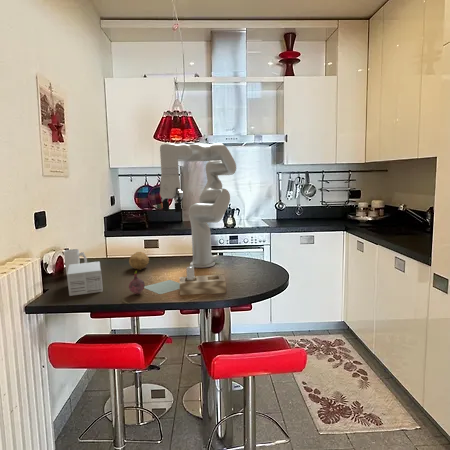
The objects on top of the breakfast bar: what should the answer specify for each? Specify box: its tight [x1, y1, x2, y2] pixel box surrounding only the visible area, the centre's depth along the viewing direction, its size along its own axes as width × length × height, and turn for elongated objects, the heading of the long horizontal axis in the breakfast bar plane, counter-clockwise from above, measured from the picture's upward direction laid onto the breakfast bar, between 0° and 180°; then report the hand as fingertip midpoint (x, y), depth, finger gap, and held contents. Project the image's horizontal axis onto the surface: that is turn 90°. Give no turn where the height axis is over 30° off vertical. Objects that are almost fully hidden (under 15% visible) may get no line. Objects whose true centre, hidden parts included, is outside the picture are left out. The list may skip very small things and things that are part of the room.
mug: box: [63, 248, 88, 275], centre depth 183 cm, size 10×7×12 cm, turn 98°
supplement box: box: [66, 261, 104, 297], centre depth 161 cm, size 17×13×9 cm
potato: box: [128, 251, 150, 271], centre depth 190 cm, size 10×14×8 cm
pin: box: [186, 265, 195, 281], centre depth 151 cm, size 3×3×10 cm
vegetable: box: [128, 270, 146, 295], centre depth 149 cm, size 6×6×10 cm
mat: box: [144, 279, 180, 295], centre depth 158 cm, size 14×14×1 cm
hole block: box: [179, 273, 227, 296], centre depth 152 cm, size 18×9×5 cm, turn 97°
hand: (172, 211), depth 169 cm, fingers open, 9 cm apart
